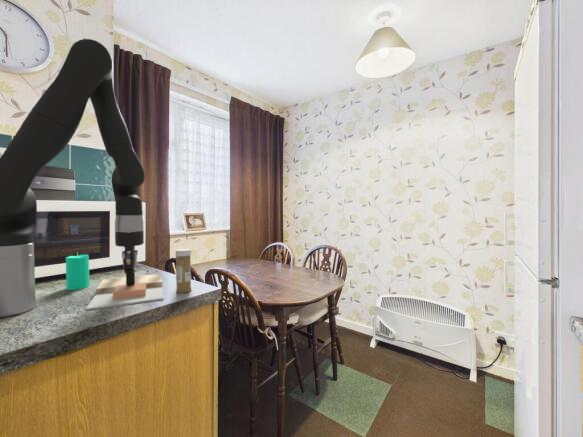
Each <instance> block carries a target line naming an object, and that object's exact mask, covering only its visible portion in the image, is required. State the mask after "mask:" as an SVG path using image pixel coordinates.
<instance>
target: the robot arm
mask: <svg viewBox="0 0 583 437" xmlns="http://www.w3.org/2000/svg"><path fill="white" fill-rule="evenodd" d="M113 72H114V61H113V59H112V56H111V53H110V52H109V49H107V48H106V46H105V45H103V44H102V43H101V42H99V41H97V40H95V39H90V38H82V39H79V40H78V41H75V42H74V43H73V44H72V45H71V47H70V48H69V51H68V53H67V56H66V58H65V60H64V62H63V64H62V66H61V68H60V70H59V72H58V74H57V76H56V77H55V79H54V80H53V82H51V84H50V85H49V86H48V88H47V89H46V90H45V91H44V93H42V95H40V96H41V97H40V98H39V99H38V100H37V102H36V103H35V104H34V106H33V107H32V108H31V110H30V111H29V112H28V114H27V116H26V118H25V119H24V120H23V122H22V123H21V125H20V127H19V129H18V130H17V131H16V133H15V134H14V136H13V137H12V139H11V141H10V142H9V143H8V146H7V147H6V149H4V152H3V153H2V154H1V156H0V318H4V317H10V316H14V315H19V314H22V313H25V312H28V311H31V310H32V309H34V308H35V307H36V273H35V272H36V271H35V244H34V240H35V239H34V238H35V233H36V231H37V223H38V222H37V218H38V216H37V215H38V214H37V213H38V212H37V211H38V207H37V206H38V204H37V202H38V201H37V199H36V198H37V197H36V195H35V193H34V191H33V190H32V189H31V185H32V183H33V182H34V180H35V178H36V176H37V175H38V173H39V172H40V171H41V170H42V169H43V168H44V167H45V166H46V165H48V164H49V163H50V162H52V160H54V159H55V158H56V157H57V156H59V155H60V154H61V153H62V152H63V151H64V150H65V148H66V147H67V146H68V144H69V143H70V142H71V140H72V138H73V136H74V135H75V133H76V131H77V130H78V128H79V126H80V123H81V122H82V119H83V116H84V113H85V110H86V107H87V104H88V101H89V100H90V102H91V105H92V107H93V110H94V113H95V114H94V115H95V118H96V123H97V126H98V130H99V133H100V136H101V140H102V142H103V145H104V148H105V151H106V153H107V155H108V156H109V157H110V158H112V159H113V161H114V165H115V166H116V167H115V168H114V169H113V171H112V174H111V187H112V191H113V195H114V199H115V218H114V219H115V220H114V241H115V242H114V244H115V246H116V247H123V248H124V250H122V251H121V258H122V266H123V269H124V270H123V271H124V274H125V277H126V285H127V286H133V285H134V284H135V276H136V270H137V269H136V268H137V263H138V258H137V257H138V255H139V254H138V252H139V251H138V249H136V247H137V246H142V245H143V244H145V242H144V241H145V240H144V239H145V237H144V234H145V233H144V219H143V218H144V217H143V201H142V199H141V198H140V197H139V196H138V189H137V188H138V187H141V186H142V185H143V184H144V181H145V178H146V175H145V170H144V167H143V165H142V162H141V161H140V159H139V157H138V155H137V153H136V152H135V150H134V148H133V143H132V140H131V136H130V133H129V131H128V126H127V124H126V122H125V119H124V117H123V115H122V113H121V111H120V107H119V105H118V103H117V98H116V95H115V90H114V85H113V82H114V81H113V74H114V73H113Z"/></svg>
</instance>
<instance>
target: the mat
mask: <svg viewBox="0 0 583 437" xmlns="http://www.w3.org/2000/svg"><path fill="white" fill-rule="evenodd" d="M163 288H164V287H163V285H162V286H159V287H151V288H146V296H140V297H133V298H125V299H117V300H113V293H114V292H108V293H100V294H96V293H95V295H94V296H93V298H92V299H91V301H90V302H89V303H88V305H87V306H86V307H85V310H86V311H91V310H92V311H93V310H99V309H107V308H115V307H121V306H128V305H129V306H130V305H134V304H142V303H148V302H149V303H150V302H157V301H163V300H164V291H163Z"/></svg>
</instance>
